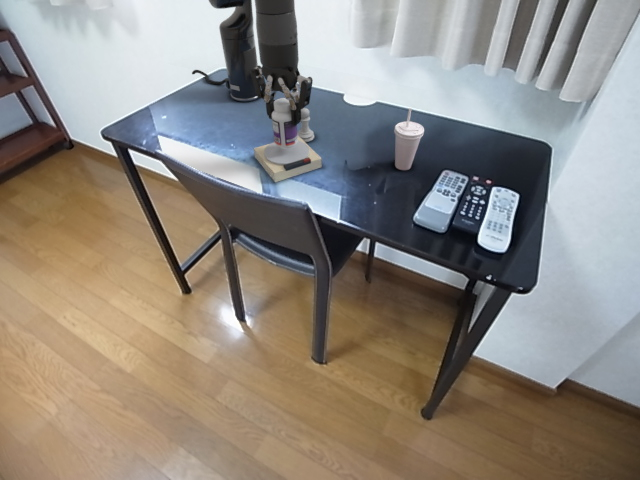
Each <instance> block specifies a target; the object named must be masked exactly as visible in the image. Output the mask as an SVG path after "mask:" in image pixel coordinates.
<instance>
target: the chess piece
mask: <svg viewBox="0 0 640 480" xmlns="http://www.w3.org/2000/svg"><path fill="white" fill-rule="evenodd" d="M310 120H311V117H310V109H308V108H306V107H304V108H303V109H301V121H300V126H301V127H300V129H299V130H297V135H298V136H299V137H300V138H301V139H302V140H303V141H304V142H305V143H308V142H309V143H310V142H312V141H313V140H314V139H315V133H314V131H313V130H312V129H311V128H310V126H309V123H310Z"/></svg>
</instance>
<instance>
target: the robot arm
mask: <svg viewBox="0 0 640 480" xmlns="http://www.w3.org/2000/svg"><path fill="white" fill-rule="evenodd" d="M208 3H209V4H210V5H211V7H212V8H214V9H218V10H222V9H223V10H224V9H231V8H234V10H233V12H232V13H231V15H229V17H227V18H226V19H224V20H223V21H222V22H221V23H219V27H218V29H219V35H220V40H221V46H222V52H223V57H224V62H225V68H226V73H227V77H226V78H224V79H222V80H220V81H216V80H212V79H210V77H209V75H208V74H207V73H205V72H204V71H202V70H200V69H194V70H193V71H191V75H195V74H200V75H202V76H203V77H205V81H206V83H207V82H208V83H209V84H212V85H224V84H225V87H226V88H227V90H228V89H229V90H230V97H231V99H232V100H234V101H237V102H253V101H255V100H259V99H262V100H263V101H264V103H265V108H266V115H267V116H268V119H269V120H272V112H273V111H274V101H275V100H276V95H277V93H278V92H280V93H282V94H284V98H286V99H287V100H289V103H290V105H291V108H292V109H291V120H292V125H294V126H296V125H297V126H298V125H299V124H300V123H301V109H303V108H306V107H307V106H309V104H310V101H311V95H312V88H313V78H312V76H308V77H306V76H302V75H301V72H300V70H299V67H298V65H299V61H300V60H299V39H298V37H299V36H298V35H299V34H298V21H297V15H296V7H295V3H296V2H295V0H254V6H255V28H256V29H255V30H256V35H257V36H256V37H257V45H258V54H257V47H256V40H255V31H254V11H253V0H208ZM257 55H259V62H260V65H259V64H258V63H259V62H258V56H257ZM261 65H262V66H261Z"/></svg>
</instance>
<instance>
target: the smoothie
mask: <svg viewBox="0 0 640 480" xmlns="http://www.w3.org/2000/svg"><path fill="white" fill-rule="evenodd" d="M407 111H408V112H407V117H406V121H401V122H398V123H397V124H395V126H394V131H393V133H394V134H395V139H394V140H395V145H394V148H395V150H394V160H395V161H394V166H395V168H396V169H397V170H400V171H408V170H410V169H411V168H412V165H413V162H414V159H415V156H416V153H417V150H418V148H419V144H420V142H421V139H422V137H423V136H424V134H425V128H424V126H423V125H422V124H420V123H418V122H415V121H411V115H412V108H411V107H409V108H408V110H407Z"/></svg>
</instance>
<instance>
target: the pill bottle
mask: <svg viewBox="0 0 640 480" xmlns="http://www.w3.org/2000/svg"><path fill="white" fill-rule="evenodd" d="M274 100H275V101H274V111H273V112H272V119H271V122H272V133H273V140H274V141H273V142H275V144H276V146H278V147H280V148H291V147H293V146H295V145H296V144H297V142H298V135H297V132H298V124H297V125H296V126H294V125H292V120H291V109H292V108H291V105H290V103H289V100H287V99H286V97H280V98H277V99H276V98H275V99H274Z"/></svg>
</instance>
